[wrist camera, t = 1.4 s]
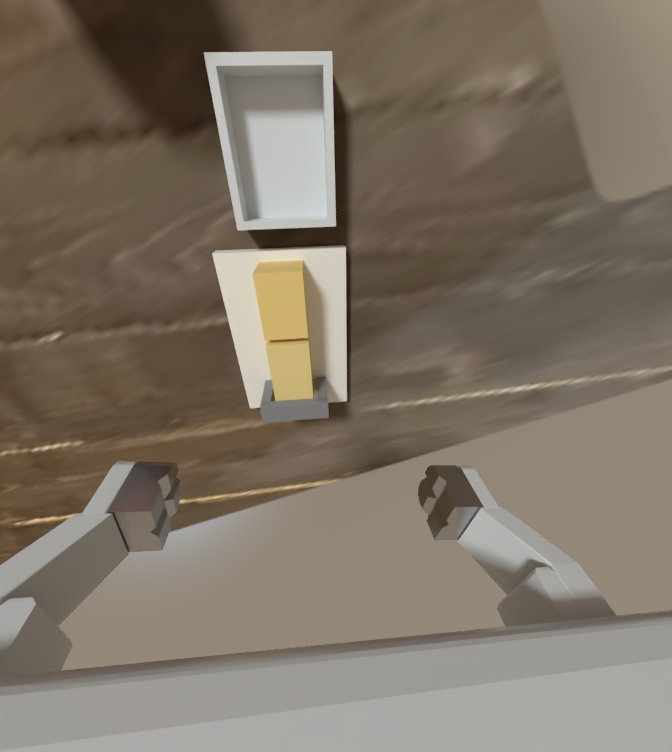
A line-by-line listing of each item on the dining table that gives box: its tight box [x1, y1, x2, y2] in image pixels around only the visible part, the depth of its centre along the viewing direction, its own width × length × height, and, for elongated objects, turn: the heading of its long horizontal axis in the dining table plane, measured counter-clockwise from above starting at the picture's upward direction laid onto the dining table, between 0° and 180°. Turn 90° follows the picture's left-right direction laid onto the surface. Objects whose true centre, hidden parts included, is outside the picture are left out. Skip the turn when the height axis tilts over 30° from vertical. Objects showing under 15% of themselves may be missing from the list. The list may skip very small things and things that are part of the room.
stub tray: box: [203, 51, 336, 230], centre depth 23 cm, size 8×10×3 cm
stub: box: [253, 260, 308, 341], centre depth 27 cm, size 4×6×4 cm, turn 2°
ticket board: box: [212, 245, 347, 423], centre depth 30 cm, size 12×18×6 cm, turn 1°
